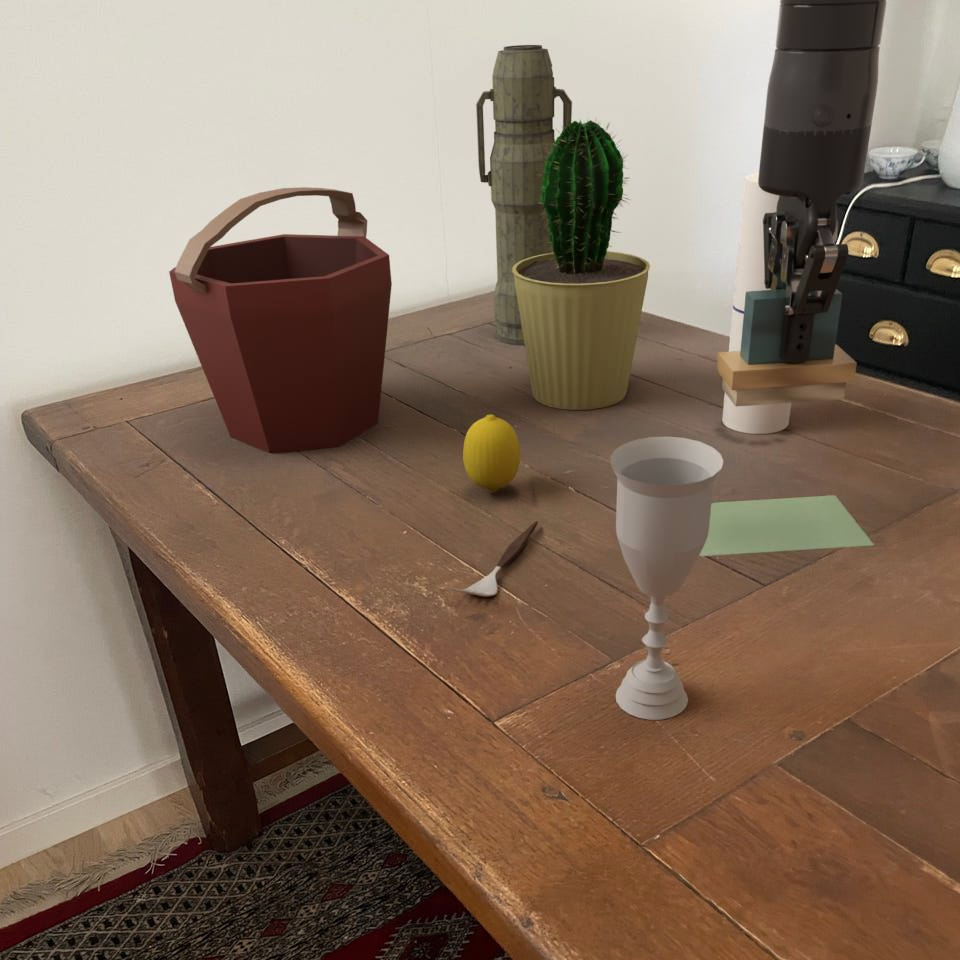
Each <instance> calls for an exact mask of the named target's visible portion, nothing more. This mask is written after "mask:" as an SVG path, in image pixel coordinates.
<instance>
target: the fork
mask: <svg viewBox="0 0 960 960" xmlns="http://www.w3.org/2000/svg"><path fill="white" fill-rule="evenodd" d="M538 524H539V521H537V520H536V521H534V522H533V523H532V524H531V525H529V526H528V527H527V528H526V529H525V530H524V531H523V532H522V533H521V534H520V535H518V536H517V537H516V538H515V539H514V540H513V541H512V542H511V543H510V544H509V545H508V546H507V548H506V549H505V551H504V552H503V554H502V556H501V557H500V558H499V561H498V562H497V564H496V566H495V567H494V569H493V570H492V571H491V572H490V573H489V574H487V575H486V576H485V577H483V578H482V579H480V580H478V581H476V582H475V583H473V584H471V585H470V586H468V587H466V588H463V589H460V588H459V589H458V588H454V587H452V588H451V591H453V592H456V593H463V594H469V595H474V596H477V597H484V598H485V597H487V598H489V597H494V596H496V595H497V594H498V591H499V588H498V583H497V575H498V573H499V572H500V571H502V569H503V568H505V567H506V566H507V565H508V564H509V563H510V562H512V561H513V560H514V559H515V558H516V557H518V555H519V554H520V553H521V551H522V550H523V548H524V546H525V545H526V543H527V542H528V540H529V538H530V536H531V535H532V533H533V532H534V531H535V529H536V528H537V526H538Z"/></svg>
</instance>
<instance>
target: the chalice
mask: <svg viewBox="0 0 960 960" xmlns="http://www.w3.org/2000/svg"><path fill="white" fill-rule="evenodd" d="M611 453H612V454H611V455H610V457H609V459H610V465H611V467H612V470H613V471H614V474H615V475H616V478H617V479H616V480H617V482H616V483H617V484H616V508H615V509H616V511H615V532H616V538H617V540H618V544H619V546H620V550H621V553H622V557H623V560H624V561H625V564H626V566H627V568H628V570H629V572H630V574H631V576H632V578H633V580H634V582H635V584H636V586H637V589H638V590H639V591H640V592H641V593H643V594H645V595H647V596H649V597H650V605H649V608H648V611H646V613H645V614H644V619H645V620H646V621H647V623H648V627H649V628H648V631H647V633H646V634H645V635H643V636H642V639H641V641H642V643H643V644H644V645H645V646H646V649H647V656H646V658H645V659H643V660H640V661H638V662H636V663H634V664H633V666H631V667H629V669H628V670H627V671H626V674H625V676H624V678H623V679H622V681H621V683H620V686H619V687H617V690H616V692H615V702H616V703H617V705H618V706H619V708H620V709H621V710H622V711H624V712H625V713H627V714H628V715H631V716H633V717H636V718H639V719H643V720H644V719H645V720H649V721H650V720H651V721H654V720H655V721H656V720H667V719H669V718H670V719H671V718H673V717H675V716H677V715H679V714H681V713H682V712H683V711H685V709H686V708H687V705H688V702H689V699H688V695H687V692H686V690H685V688H684V685H683V682H682V680H681V678H680V673H679V672H677V670H676V669H675V668H674V667H673V666H672V665H671V664H670V663H668V662H666V661H663V660H662V655H661V653H662V650H663V647H665V646H667V645H668V642H669V639H668V637H667V636H666V635H665V634H664V631H663V628H664V625H665V623H666V622H667V621H668V620H669V614H668V613H667V612H666V607H665V600H666V597H669V596H672V595H674V594H676V593H677V592H678V591H679V590H680V588H681V587H682V586H683V584H684V582H685V581H686V580H687V577H688V576H689V575H690V573H691V571H692V570H693V568H694V567H695V566H696V564H697V561H698V559H699V555H700V553H701V551H702V549H703V547H704V544H705V542H706V540H707V537H708V534H709V525H710V514H711V503H713V502H712V501H713V489H714V481H715V480H716V478H717V476H718V475H719V474H720V472H721V470H722V467H723V465H724V459H723V456H722V454H721V453H720V452H719V451H718V450H716V448H715V447H713V446H711V445H708V444H706V443H704V442H702V441H699V440H695V439H690V438H687V437H677V436H650V437H644V438H639V439H634V440H631V441H629V442H626V443H623V444H621V445H620V446H618V447H617V448H616V449H614V450H613V452H611Z"/></svg>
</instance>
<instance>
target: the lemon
mask: <svg viewBox="0 0 960 960" xmlns="http://www.w3.org/2000/svg"><path fill="white" fill-rule="evenodd" d="M520 447H521V446H520V441H519V439H518V436H517V433H516V431H515V429H514V427H513V426H512V425H511V424H510V423H508V421H506V420H505V419H502V418H500V417H496V416H495V415H494V414H487V415H485V417H482V418H480V419H478V420H477V421H475V422H474V423H473V424H472V425H471V426H470V427H469V429H468V431H467V433H466V435H465V437H464V442H463V450H462V457H463V458H462V461H463V465H464V469H465V472H466V474H467V476H468V477H469V479H470V480H471V481H472V482H473V483H474V484H475V485H477V486H478V487H480V488H482V489H486V490H487V491H488V492H490V493H492V494H494V493H496V492H497V491H499V489H501V488H503V487H506V486H507V485H509V484H510V483H511V482H512V481H513V480H514V478H516V476H517V473H518V471H519V468H520V463H521V448H520Z"/></svg>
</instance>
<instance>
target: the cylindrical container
mask: <svg viewBox="0 0 960 960" xmlns="http://www.w3.org/2000/svg"><path fill="white" fill-rule="evenodd" d="M758 177H759V171H758V172H752V173H748V174H747V175H745V176H744V180H743V190H742V200H741V213H740V223H739V224H740V225H739V235H738V244H737V245H738V246H737V255H736V258H737V259H736V265H735V266H736V267H735V276H734V277H735V278H734V286H733V287H734V288H733V299H732V308H731V309H732V311H731V322H730V331H729V332H730V333H729V341H728V343H729V345H728V352H731V351H741V340H742V329H743V318H744V307H745V296H746V292H747V291H762V290H771V289H766V287H765V284H764V279H765V272H764V233H763V218H764V215H765V213H774V212H776V209H777V203H778V199H779V195H774V194H770V193H767V192H765V191H763V190H762V189H761V188H760V187H759V184H758ZM780 260H781V259H780ZM781 261H782V260H781ZM723 397H724V398H723V409H722V418H721V419H722V421H721V422H722V424H723V425H724V427H727V428H728V429H730V430H732V431H735V432H739V433H743V434H744V433H745V434H752V435H765V434H767V435H768V434H774V433H778V432H781V431H783V430H785V429H786V428H787V427H788V426H789V425H790V417H791V409H792V403H780V404H765V405H750V406H735V405H734V404H733V402H732V401H731V400H730V398H729V397H728V396H727V394H726V393H725V392H724V396H723Z"/></svg>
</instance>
